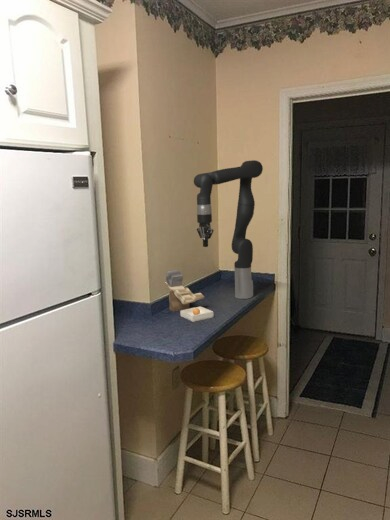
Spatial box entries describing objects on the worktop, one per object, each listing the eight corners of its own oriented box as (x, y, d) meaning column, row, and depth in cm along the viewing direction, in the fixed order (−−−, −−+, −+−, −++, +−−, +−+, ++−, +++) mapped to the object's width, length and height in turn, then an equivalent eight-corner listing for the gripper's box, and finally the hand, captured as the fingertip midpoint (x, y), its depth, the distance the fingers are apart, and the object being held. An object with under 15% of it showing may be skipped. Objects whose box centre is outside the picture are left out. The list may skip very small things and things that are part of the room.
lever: (164, 282, 226) (166, 271, 222) (186, 279, 232) (188, 268, 229) (183, 304, 211) (185, 292, 208) (205, 299, 218) (207, 288, 215)
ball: (199, 316, 210) (196, 310, 211) (202, 312, 207) (199, 306, 209) (193, 317, 208) (190, 311, 209) (195, 313, 205) (193, 307, 207)
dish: (200, 311, 216) (200, 306, 216) (213, 317, 206) (213, 311, 206) (180, 316, 210) (180, 310, 210) (192, 321, 201) (192, 316, 200)
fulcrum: (169, 309, 222) (168, 290, 220) (185, 306, 227) (184, 287, 225) (173, 311, 218) (172, 291, 217) (189, 308, 223) (188, 288, 222)
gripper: (217, 213, 217) (218, 247, 220) (203, 212, 228) (204, 244, 231) (205, 214, 213) (206, 248, 216) (191, 213, 224) (192, 246, 227)
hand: (205, 246), depth 224 cm, fingers closed
